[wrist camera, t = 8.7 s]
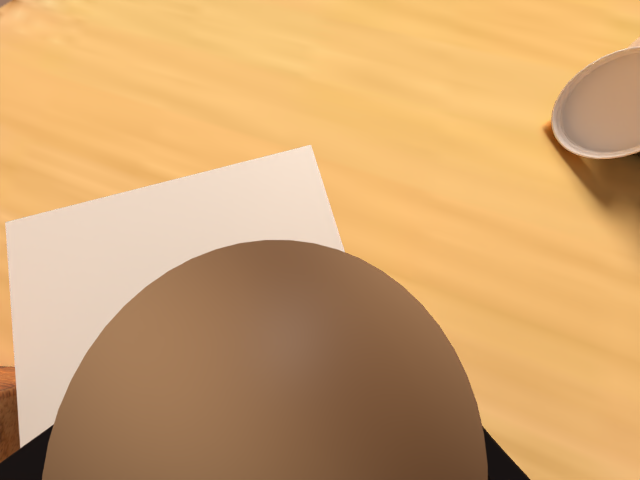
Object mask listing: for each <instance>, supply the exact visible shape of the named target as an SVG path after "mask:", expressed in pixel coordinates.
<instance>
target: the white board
mask: <svg viewBox="0 0 640 480" xmlns="http://www.w3.org/2000/svg"><path fill="white" fill-rule="evenodd" d="M5 223H6V238H7V253H8V269H9V284H10V299H11V314H12V329H13V345H14V360H15V375H16V390H17V406H18V421H19V436H20V448H21V447H23V446H24V445H26V444H27V443H28V442H30V441H31V440H32V439H34V438H35V437H37V436H38V435H39V434H41V433H42V432H44V431H45V430H46V429H48V428H49V427H50V426H52V425H53V424H54V422H55V419H56V416H57V412H58V409H59V407H60V405H61V402H62V400H63V398H64V395H65V393H66V391H67V388H68V386H69V384H70V381H71V379H72V377H73V376H74V374H75V372H76V370H77V369H78V367H79V365H80V363H81V361H82V360H83V358H84V356H85V354H86V353H87V351H88V350H89V348H90V347H91V346H92V344H93V343H94V341H95V340H96V339H97V337H98V336H99V335H100V333H101V332H102V330H103V329H104V328H105V326H106V325H107V324H108V323H109V322H110V321H111V320H112V319H113V318H114V317H115V315H116V314H117V313H118V312H119V311H120V310H121V309H122V308H123V307H124V306H125V305H126V304H127V303H128V302H129V301H130V300H131V299H132V298H134V297H135V296H136V295H137V294H138V293H139V292H140V291H142V290H143V289H144V288H145V287H146V286H148V285H149V284H151V283H152V282H153V281H155V280H156V279H158V278H159V277H161V276H162V275H163V274H165V273H166V272H168V271H170V270H171V269H173V268H175V267H177V266H179V265H181V264H183V263H184V262H186V261H188V260H190V259H192V258H195V257H197V256H200V255H202V254H205V253H207V252H210V251H213V250H215V249H219V248H223V247H227V246H231V245H235V244H238V243H244V242H252V241H260V240H294V241H301V242H309V243H315V244H319V245H323V246H327V247H330V248H334V249H338V250H340V251H343V252H345V251H344V248H343V245H342V242H341V238H340V235H339V232H338V229H337V226H336V223H335V219H334V216H333V213H332V210H331V207H330V204H329V200H328V197H327V194H326V191H325V188H324V185H323V181H322V178H321V175H320V172H319V169H318V166H317V163H316V159H315V156H314V153H313V150H312V147H311V145H308V146H304V147H300V148H297V149H293V150H289V151H285V152H281V153H277V154H273V155H269V156H265V157H261V158H257V159H253V160H249V161H245V162H241V163H237V164H233V165H229V166H225V167H221V168H218V169H214V170H210V171H206V172H202V173H198V174H194V175H190V176H186V177H182V178H178V179H174V180H170V181H166V182H162V183H158V184H154V185H150V186H146V187H142V188H139V189H135V190H131V191H127V192H123V193H119V194H115V195H111V196H107V197H103V198H99V199H95V200H91V201H87V202H83V203H79V204H75V205H71V206H67V207H63V208H60V209H56V210H52V211H48V212H44V213H40V214H36V215H32V216H28V217H24V218H20V219H16V220H12V221H8V222H5Z"/></svg>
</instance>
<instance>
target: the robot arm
mask: <svg viewBox="0 0 640 480" xmlns="http://www.w3.org/2000/svg"><path fill="white" fill-rule="evenodd" d="M53 426H54V424H53V425H52V426H50V427H49V428H48V429H46V430H45V431H44V432H42V433H41V434H39V435H38V436H37V437H35V438H34V439H32V440H31V441H30V442H28V443H27V444H26V445H24V446H23V447H21V448H20V449H19V450H17V451H16V452H14V453H13V454H12V455H10V456H9V457H7V458H6V459H5V460H3V461H2V462H1V463H0V480H42V475H43V469H44V464H45V458H46V453H47V448H48V442H49V439H50V435H51V432H52V429H53ZM482 428H483V432H484V439H485V447H486V456H487V465H488V480H530V479H529V478H528V477H527V475H526V474H525V473H524V472H523V471H522V470H521V469H520V468H519V467H518V466H517V465H516V464H515V462H514V461H513V460H512V459H511V458H510V457H509V456H508V455H507V454H506V453H505V452H504V450H503V449H502V448H501V447H500V446H499V445H498V444H497V443H496V441H495V440H494V439H493V438H492V437H491V436H490V435H489V433H488V432H487V431H486V430H485V429H484V427H483V426H482Z"/></svg>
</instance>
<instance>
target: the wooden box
mask: <svg viewBox="0 0 640 480" xmlns="http://www.w3.org/2000/svg"><path fill="white" fill-rule="evenodd" d="M19 449H20V436H19V421H18V406H17V390H16V375H15V367H2V366H0V463H1V462H2V461H3V460H5V459H6V458H7V457H9V456H10V455H12V454H13V453H14V452H16V451H17V450H19Z"/></svg>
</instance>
